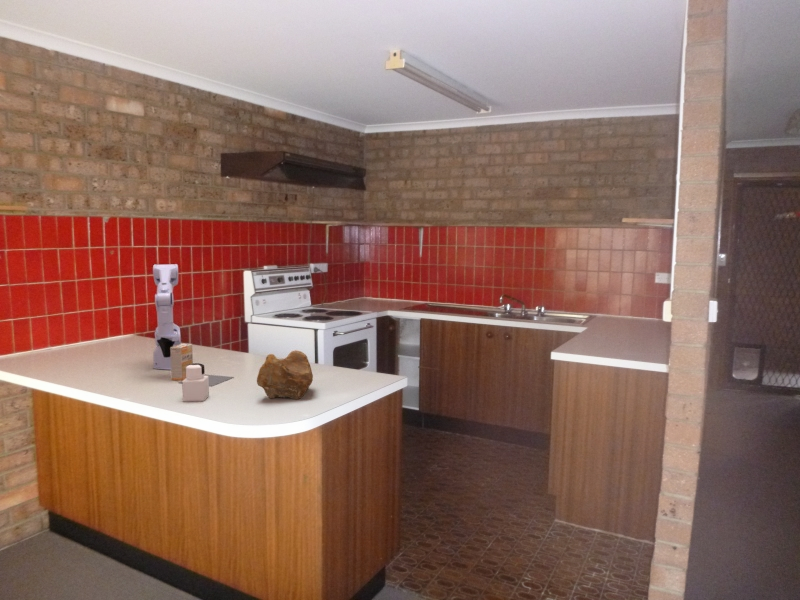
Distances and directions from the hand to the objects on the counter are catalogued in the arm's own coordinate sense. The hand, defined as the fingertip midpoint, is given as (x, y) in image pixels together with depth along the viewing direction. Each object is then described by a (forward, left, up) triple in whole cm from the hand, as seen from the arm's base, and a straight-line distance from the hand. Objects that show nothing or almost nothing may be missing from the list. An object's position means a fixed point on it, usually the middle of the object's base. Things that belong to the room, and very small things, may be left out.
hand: (167, 357), depth 230 cm
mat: (+18, 0, -8) cm, 20 cm away
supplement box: (+7, 0, -8) cm, 11 cm away
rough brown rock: (+59, -8, -8) cm, 60 cm away
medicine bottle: (+30, -22, -8) cm, 38 cm away
